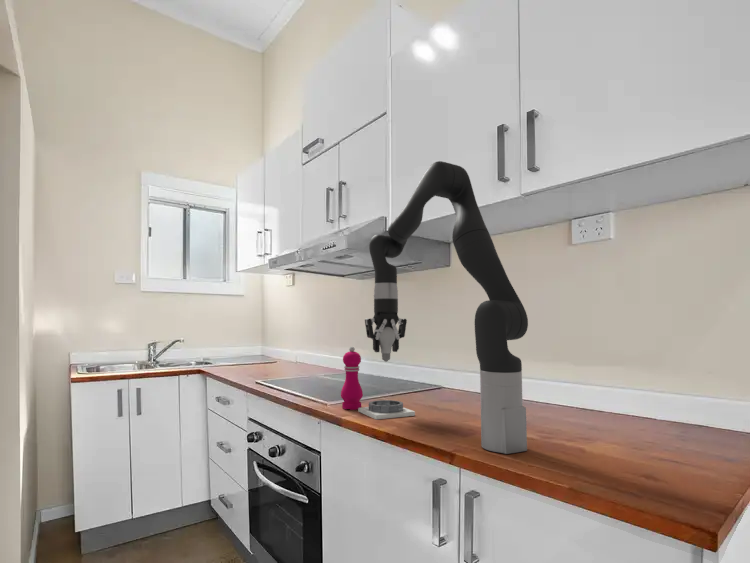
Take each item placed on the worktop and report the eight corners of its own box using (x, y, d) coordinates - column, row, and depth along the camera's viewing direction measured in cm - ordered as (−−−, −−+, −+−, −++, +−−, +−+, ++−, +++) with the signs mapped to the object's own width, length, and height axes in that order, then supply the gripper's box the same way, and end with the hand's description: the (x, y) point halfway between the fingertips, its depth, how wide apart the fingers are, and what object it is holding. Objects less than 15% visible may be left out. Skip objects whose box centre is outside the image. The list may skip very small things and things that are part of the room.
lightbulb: (394, 362, 141) (393, 326, 142) (374, 362, 142) (374, 326, 143) (397, 360, 147) (397, 326, 148) (378, 360, 148) (378, 326, 149)
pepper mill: (359, 405, 157) (359, 345, 159) (365, 409, 150) (365, 347, 152) (338, 406, 155) (338, 346, 156) (343, 410, 148) (344, 347, 149)
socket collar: (409, 411, 141) (409, 404, 141) (378, 414, 136) (378, 407, 137) (393, 405, 150) (393, 399, 151) (363, 408, 146) (363, 401, 146)
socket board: (414, 415, 140) (414, 411, 140) (376, 419, 135) (376, 415, 135) (394, 408, 152) (394, 404, 152) (358, 411, 146) (358, 407, 146)
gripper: (370, 296, 140) (370, 353, 138) (411, 297, 146) (412, 352, 145) (360, 298, 146) (360, 351, 145) (400, 298, 153) (400, 350, 151)
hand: (386, 351), depth 145 cm, fingers closed on lightbulb, 5 cm apart
